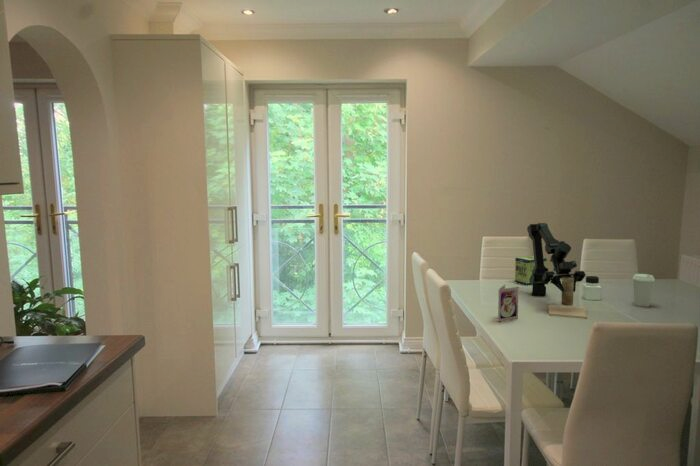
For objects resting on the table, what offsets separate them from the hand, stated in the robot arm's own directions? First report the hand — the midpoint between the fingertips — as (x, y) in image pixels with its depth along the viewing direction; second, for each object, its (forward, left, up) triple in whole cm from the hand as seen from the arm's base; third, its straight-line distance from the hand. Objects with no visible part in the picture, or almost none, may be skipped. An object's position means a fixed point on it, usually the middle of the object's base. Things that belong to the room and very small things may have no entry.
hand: (568, 291), depth 218 cm
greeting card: (-28, -20, -11) cm, 35 cm away
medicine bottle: (+12, +33, -11) cm, 37 cm away
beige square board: (-1, +1, -10) cm, 10 cm away
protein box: (-19, +63, -11) cm, 67 cm away
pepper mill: (-1, +1, -7) cm, 7 cm away
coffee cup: (+34, +27, -11) cm, 45 cm away
